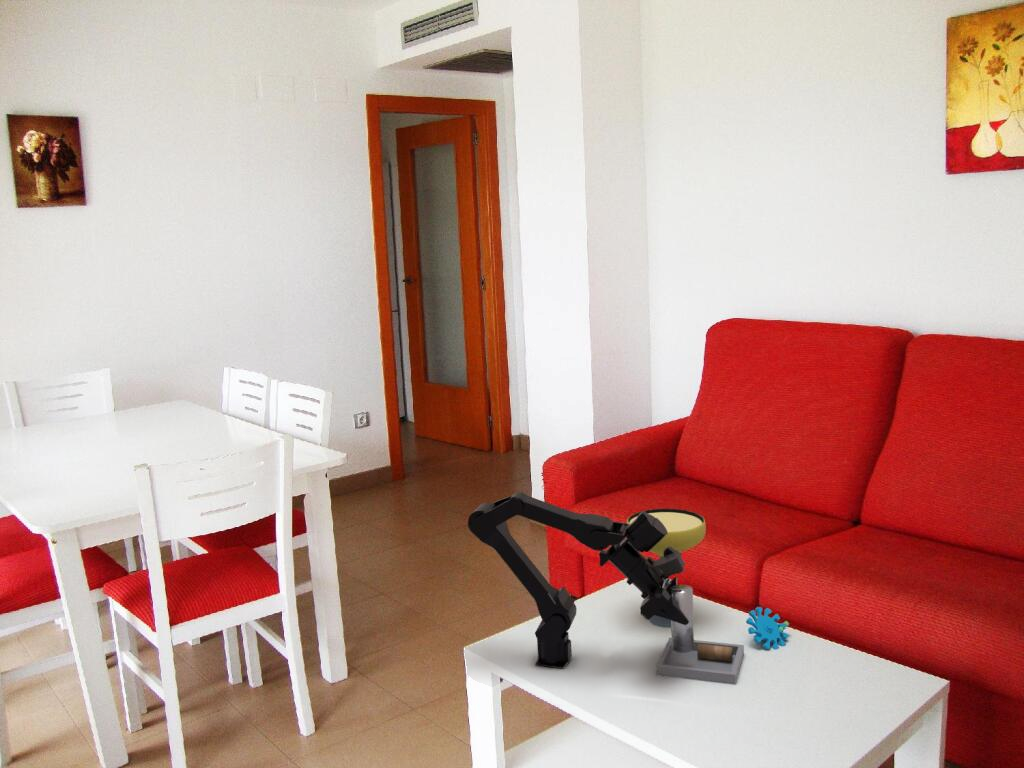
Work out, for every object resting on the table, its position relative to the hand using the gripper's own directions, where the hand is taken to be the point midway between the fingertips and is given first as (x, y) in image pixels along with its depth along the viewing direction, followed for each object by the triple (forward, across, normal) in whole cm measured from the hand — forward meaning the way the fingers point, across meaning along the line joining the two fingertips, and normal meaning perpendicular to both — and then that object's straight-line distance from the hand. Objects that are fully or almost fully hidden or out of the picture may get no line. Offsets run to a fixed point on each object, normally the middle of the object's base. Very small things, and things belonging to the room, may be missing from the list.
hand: (688, 618), depth 197 cm
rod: (+11, +5, +4) cm, 13 cm away
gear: (+20, +16, -3) cm, 25 cm away
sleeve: (+4, 0, +6) cm, 7 cm away
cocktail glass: (+3, +24, +13) cm, 27 cm away
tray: (+10, +2, +7) cm, 12 cm away
